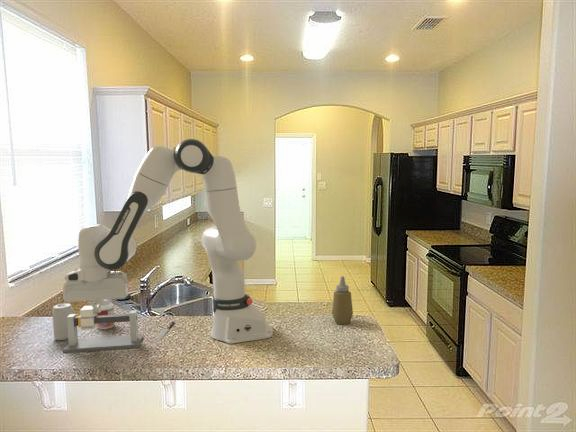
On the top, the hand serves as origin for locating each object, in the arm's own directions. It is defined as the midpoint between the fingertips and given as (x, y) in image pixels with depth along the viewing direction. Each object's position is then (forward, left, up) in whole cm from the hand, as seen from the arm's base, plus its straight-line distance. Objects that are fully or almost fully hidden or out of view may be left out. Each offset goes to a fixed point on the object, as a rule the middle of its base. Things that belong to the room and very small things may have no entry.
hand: (97, 312), depth 148 cm
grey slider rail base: (-2, 0, -12) cm, 12 cm away
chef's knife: (-20, -8, -12) cm, 25 cm away
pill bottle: (+2, -18, -12) cm, 22 cm away
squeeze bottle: (-88, -6, -12) cm, 89 cm away
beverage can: (+14, -9, -12) cm, 21 cm away
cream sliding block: (+3, 0, -5) cm, 6 cm away
